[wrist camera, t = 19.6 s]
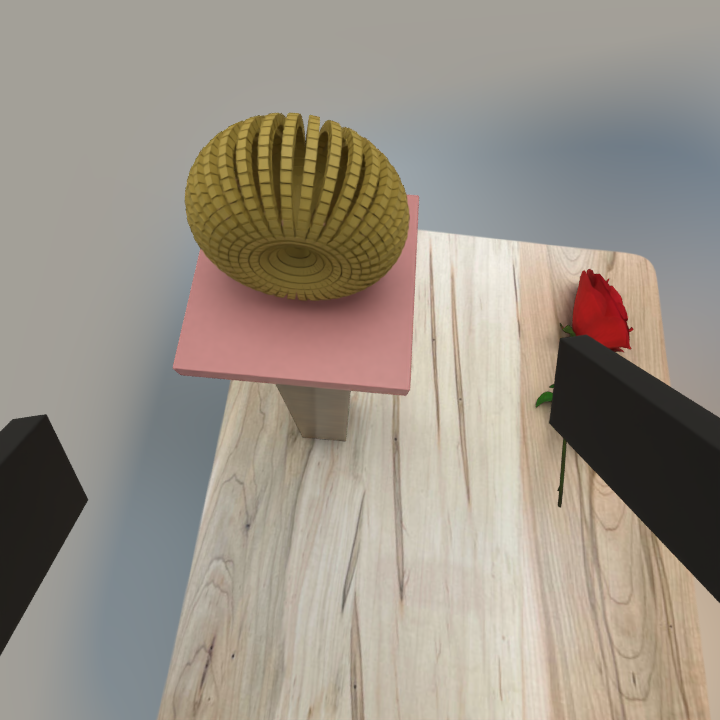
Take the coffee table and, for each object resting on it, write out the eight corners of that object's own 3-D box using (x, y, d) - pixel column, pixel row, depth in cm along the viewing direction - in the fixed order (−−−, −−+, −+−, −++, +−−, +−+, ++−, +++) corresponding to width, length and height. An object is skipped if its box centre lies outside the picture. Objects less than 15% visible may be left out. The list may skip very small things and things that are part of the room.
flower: (628, 510, 38) (640, 246, 50) (515, 487, 43) (551, 250, 55) (620, 529, 45) (632, 294, 57) (524, 508, 50) (554, 294, 62)
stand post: (302, 437, 50) (246, 328, 20) (307, 395, 52) (263, 235, 22) (345, 441, 50) (355, 338, 20) (349, 399, 52) (363, 245, 22)
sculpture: (212, 310, 19) (130, 182, 12) (225, 232, 20) (159, 71, 13) (394, 321, 19) (429, 202, 12) (396, 243, 21) (428, 90, 13)
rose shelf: (180, 375, 19) (171, 368, 18) (222, 189, 22) (216, 175, 22) (406, 395, 19) (410, 390, 18) (415, 208, 23) (419, 195, 22)
